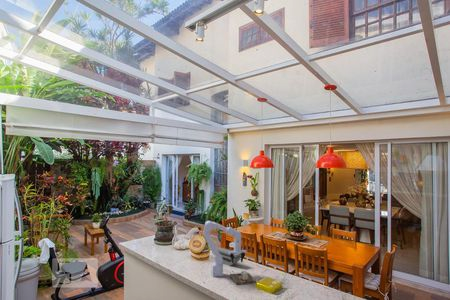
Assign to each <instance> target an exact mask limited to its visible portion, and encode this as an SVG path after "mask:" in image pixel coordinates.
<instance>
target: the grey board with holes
mask: <svg viewBox="0 0 450 300" xmlns="http://www.w3.org/2000/svg"><path fill="white" fill-rule="evenodd" d="M246 272H247V273H248V281H242V280H241V272H237V273H230V274H229V278H230V279H232V281H233V282H234V284H235V285H236V286H239V285H247V284H256V282H257V279H255V278H254V277H253V276H252V275H251V274H250V272H248V271H246Z"/></svg>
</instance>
